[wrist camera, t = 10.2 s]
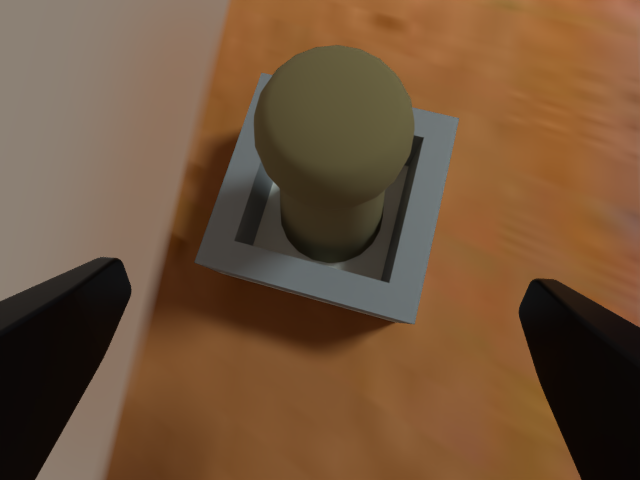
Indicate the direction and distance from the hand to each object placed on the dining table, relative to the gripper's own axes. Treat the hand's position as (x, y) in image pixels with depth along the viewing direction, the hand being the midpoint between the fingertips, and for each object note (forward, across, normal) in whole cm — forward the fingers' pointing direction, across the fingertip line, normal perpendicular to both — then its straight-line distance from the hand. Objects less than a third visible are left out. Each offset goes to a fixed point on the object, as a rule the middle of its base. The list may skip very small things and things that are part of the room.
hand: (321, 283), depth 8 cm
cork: (+12, 0, +5) cm, 13 cm away
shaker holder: (+13, 0, +5) cm, 14 cm away
